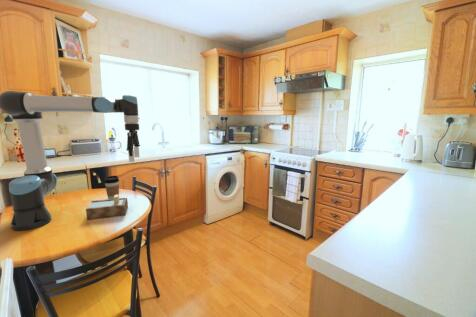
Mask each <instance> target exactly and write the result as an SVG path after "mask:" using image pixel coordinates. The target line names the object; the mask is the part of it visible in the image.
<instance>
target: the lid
mask: <svg viewBox="0 0 476 317" xmlns="http://www.w3.org/2000/svg"><path fill="white" fill-rule="evenodd" d="M119 198H120V193H119V194H118V195H115V196H114V200H113V201H103V202H94V203H92V202H90V204H89V205H88V207H87V208H95V207H104V206H113V205H122V204H123V201H124V199H123V200H119Z"/></svg>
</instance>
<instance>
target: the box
mask: <svg viewBox="0 0 476 317" xmlns="http://www.w3.org/2000/svg"><path fill="white" fill-rule="evenodd" d="M123 199H124V201H123V204H122V205H113V206H104V207H95V208H88V207H87V208H86V209H85V213H86V220H87V221H89V220H90V221H91V220H98V219H99V220H100V219H106V218H108V219H109V218H114V217H115V218H117V217H124V216H126V214H127V211H128V209H129V205H128V204H129V202H128V197H119V200H123ZM113 200H114V199H108V198H107V199H97V200H91V203H94V202H103V201H113Z"/></svg>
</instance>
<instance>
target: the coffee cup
mask: <svg viewBox="0 0 476 317" xmlns="http://www.w3.org/2000/svg"><path fill="white" fill-rule="evenodd" d="M103 182H104V186H105V187H104V188H105V190H106V191H105V192H106V195H107V199H114V196H115V195H118V194H119V195H120V183H119V182H120V179H119V176H118V175H109V176H107V177H104V180H103Z"/></svg>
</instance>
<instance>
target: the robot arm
mask: <svg viewBox="0 0 476 317" xmlns="http://www.w3.org/2000/svg"><path fill="white" fill-rule="evenodd" d="M121 97H122V98H110V97H106V96H95V97H94V96H73V95H72V96H71V95H70V96H69V95H67V96H65V95H39V94H38V95H37V94H33V93H31V92H27V91H26V92H25V91H18V90H6V91H4V92H2V93H0V111H2V112H3V113H5V114H6V115H8V116H9V115H10V116H11V119H12V121H14V122H15V123H17V128H18V133H19V137H20V142H21V146H22V147H21V148H22V151H23V152H22V153H23V158H24V162H25V166H26V169H25V170H24V171H23V176H20V177H15V178H14V179H12V180H11V181H10V182H9V183H8V192H9V195H10V201H11V205H12V210H13V215H12V219H11V222H10V226H11V229H12V230H13V231H28V230H32V229H36V228H40V227H43V226H45V225H46V224H49V223H50V222H51V221H52V215H51V213H50V211H49V210H48V208H47V207H46V206H45V205H46V204H45V198H44V197H45V195H47V194H49V193H51V192H52V191H53V190H54V189H55V187H56V186H57V184H58V178H57V175H56V174H55V173H53V170H52V168H51V167H50V166H48V162H47V154H46V152H45V151H46V150H45V144H44V141H43V134H42V129H41V125H40V122H41V121H42V120H43V114H42V113H97V114H98V113H99V114H100V113H101V114H102V113H103V114H108V113H120V114H121V113H122V114H123V120H124V129H125V131H128V132H127V138H126V139H127V140H126V144H127V145H126V151H128V162H129V163H134V162H135V161H136V160H135V158H140V146H141V144H140V140H139V135H138V131H139V130H140V123H139V122H140V121H139V120H140V117H139V108H138V107H139V106H138V105H139V104H138V97H137V96H136V95H132V94H131V95H128V94H127V95H122V96H121Z"/></svg>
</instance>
